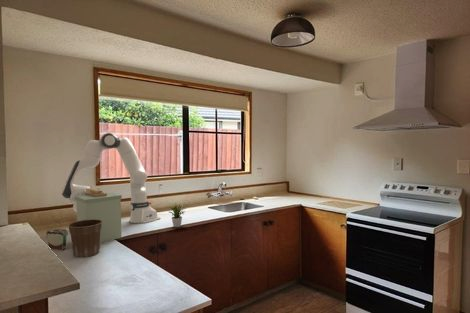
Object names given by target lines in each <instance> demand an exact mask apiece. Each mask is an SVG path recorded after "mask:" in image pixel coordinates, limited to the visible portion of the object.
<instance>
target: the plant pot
mask: <svg viewBox="0 0 470 313" xmlns="http://www.w3.org/2000/svg"><path fill="white" fill-rule="evenodd" d="M101 225H102V220H96V219H91V220H82V221H77V220H76V221H73V222H70V223H68V224H67V228H68V232H69V234H70V239H71V246H72V253H73V256H74V257H76V258H86V257H92V256H95V255H97V254H99V253H100V249H101V248H100V247H101V246H100V244H101V242H100V231H101Z"/></svg>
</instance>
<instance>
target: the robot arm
mask: <svg viewBox="0 0 470 313" xmlns="http://www.w3.org/2000/svg"><path fill="white" fill-rule="evenodd" d="M111 149H116V150H117V153H118V154H119V156H120V159H121V160H122V163H123V165H124V167H125V169H126V170H127V173H128V175H129V184H130V217H129V222H130V223H133V224H145V223H149V222H154V221H158V220H160V219H161V216H159V215H158V212H157V210H156V209H154V208H153V207H151V206H150V205H152V201H148V200H147V199H148V197H147V196H148V194H147V191H148V190H147V184H146V182H147V180H148V174H147V172H146V170H145V168H144V166H143V164H142V161H141V160H140V157H139V156H138V154H137V152H136V149H135V147H134V145H133V143H132V142H131V141H130V140H129V139H128V138H127V137H121V138H120V137H118V136H117V135H115V133H112V132H107V133H104V134H102V136H101V137H100V138H99V139H91V140H89V141H88V142H87V144H86V146H85V149H84V150H83V155H82V157H80V159H79V160H76V162H75V163H74V165H73V167H72V168H71V171H70V172H69V175H68V177H67V180H66V181H65V184H64V185H63V187H62V188H61V195H62V197H63V198H65V199H68V202H71V203H74V204H73V206H72V209H73V211H74V212H75V213H77V203H76V200H75V196H83V195H88V194H86V189H87V188H92V187H91V186H89V185H82V184H81V185H80V184H74V182H75V180H76V178H77V176H78V173H80V172H81V171H83V170H90V169H93V168H95V167H98V165H99V164H100V161H101V157H102V154H103V153H102V152H103V151H104V150H111ZM97 190H101V191H102V192H103V193H106V192H105V190H104V189H100V188H97Z"/></svg>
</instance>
